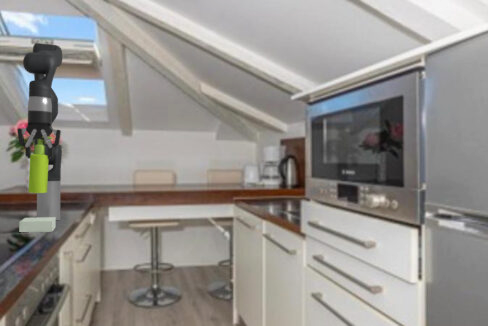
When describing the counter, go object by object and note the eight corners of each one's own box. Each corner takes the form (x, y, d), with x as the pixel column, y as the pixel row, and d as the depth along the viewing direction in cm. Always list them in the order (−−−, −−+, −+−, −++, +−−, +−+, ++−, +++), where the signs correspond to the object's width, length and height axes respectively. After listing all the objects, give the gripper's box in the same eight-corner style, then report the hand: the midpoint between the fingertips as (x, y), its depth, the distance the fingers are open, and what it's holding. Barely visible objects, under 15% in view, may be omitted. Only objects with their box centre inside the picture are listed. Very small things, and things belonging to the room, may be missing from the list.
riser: (24, 228, 157) (25, 217, 157) (55, 227, 160) (55, 217, 160) (19, 232, 147) (19, 221, 147) (51, 231, 151) (52, 220, 151)
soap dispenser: (44, 193, 141) (47, 135, 141) (24, 192, 141) (27, 134, 141) (52, 192, 147) (55, 136, 147) (34, 191, 147) (36, 135, 147)
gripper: (63, 112, 149) (62, 158, 149) (19, 110, 145) (18, 158, 145) (60, 110, 142) (60, 159, 142) (14, 108, 138) (13, 158, 138)
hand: (39, 158), depth 144 cm, fingers closed on soap dispenser, 6 cm apart
